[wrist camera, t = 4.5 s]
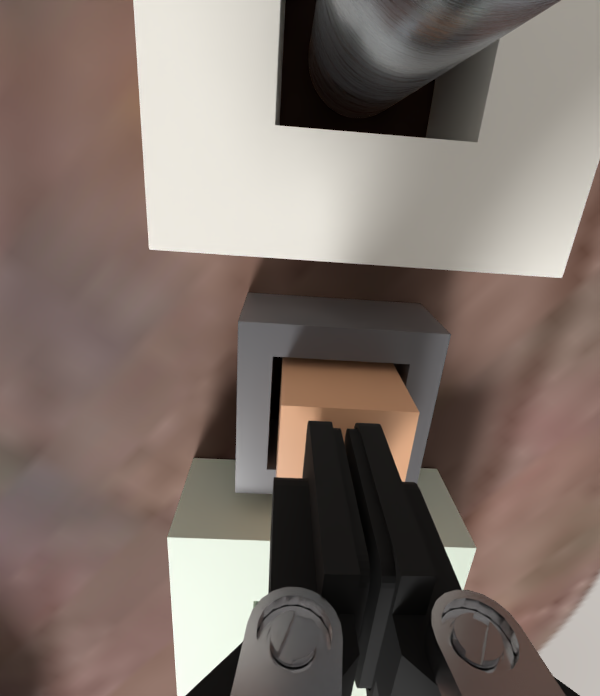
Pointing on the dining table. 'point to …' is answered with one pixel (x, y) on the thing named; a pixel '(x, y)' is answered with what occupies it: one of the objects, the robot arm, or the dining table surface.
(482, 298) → the dining table surface
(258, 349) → the key housing
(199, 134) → the socket block
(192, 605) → the white square holder
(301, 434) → the key
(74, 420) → the dining table surface
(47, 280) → the dining table surface
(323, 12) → the peg
